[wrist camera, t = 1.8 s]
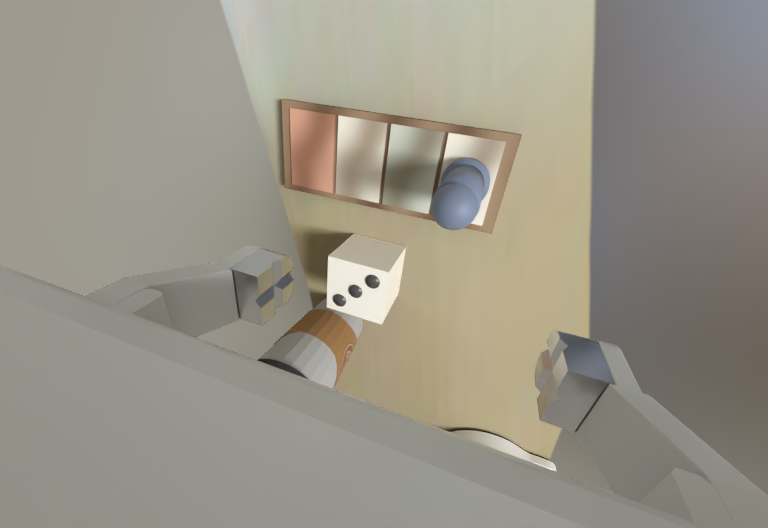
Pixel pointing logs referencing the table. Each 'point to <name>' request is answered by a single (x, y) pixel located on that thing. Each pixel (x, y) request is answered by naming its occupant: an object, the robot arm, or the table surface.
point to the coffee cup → (317, 345)
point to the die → (364, 277)
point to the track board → (388, 158)
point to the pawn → (460, 193)
